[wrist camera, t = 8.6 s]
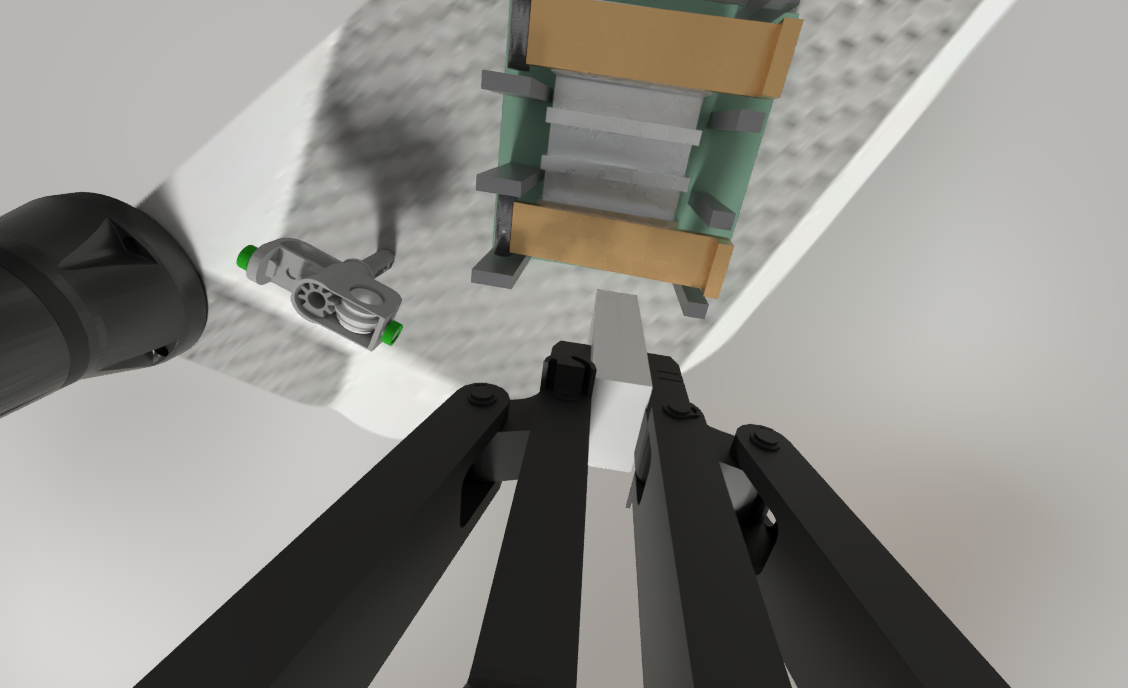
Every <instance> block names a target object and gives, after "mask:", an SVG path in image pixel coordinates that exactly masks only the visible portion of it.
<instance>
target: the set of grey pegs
mask: <svg viewBox="0 0 1128 688" xmlns="http://www.w3.org/2000/svg"><path fill="white" fill-rule="evenodd" d="M799 2H800V0H751V1H749V2H748V3H747V4H746V5H745V6H744V7H743V8H742V9H741V10H740V11H738V12H737V13H736V14H735V17H734V18H735V19H743V20H751V21H759V22H767V23H771V22H772V21H774V20H775V19H777V18H779V17H780V16H782V15H783V14H785V13H786V12H788V11H789V10H791V9H792V8H794V7H796V6H797V5H799ZM481 89H485V90H489V91H493V92H497V93H501V94H504V95H508V96H512V97H516V98H523V99H529V100H536V101H542V102H549V103H551V102H552V93H553V89H552V88H550V87H548V86H546V85H545V84H543V83H541V82H539V81H537V80H536V79H534V78H532V77H527V76H520V75H514V74H507V73H501V72H494V71H488V70H482V84H481ZM765 116H766V113H764V112H758V111H751V110H745V109H737V110H728V111H719V112H711V113H710V117H709V121H708V125H707V128H710V129H717V130H723V131H736V132H750V133H760V132H761V129H762V126H763V122H764V119H765ZM540 168H541V167H537V166H530V165H524V164H518V163H512V162H509V163H507V164H504V165H501V166H498V167H496V168H493V169H490V170H488V171H485V172H482V173H480V174H477V180H476V190H477V191H484V192H490V193H496V194H502V195H508V196H515V197H521V196H523V195H524V194H525V193H526V192H528V191H529V190H530V189H532V188H533V187H534V186H535V185H537V184H538V183H539V182H541V181H542V180H543V173H544V169H540ZM688 205H689V206H690V207H691V208H692V209H693V210H694V211H695V213H696V214H697V215H698V216H699V217H700V218H701V219H702V220H703V221H704V223H705V224H706V225H707V226H708V227H710V228H717V229H723V230H729V231H731V229H732V226H733V222H734V219H735V216H736V213H734V212H733V211H732V210H730V209H729V208H728V207H726V206H725V205H724V204H722V203H721V202H720V201H718V200H717V199H716V198H714V197H713V196H712V195H710V194H709V193H705V192H698V191H692V190H691V192H690V196H689V200H688ZM493 252H494V247H493V248H492V249H491V250H490V251H489V252H488V253H487V254H486V255H485V256H484V257H483V258H482V259H481V260H480V261H479V262H478V263H477V265H476V266H475V267H474V268H473V269H472V276H471V282H472V283H478V284H484V285H490V286H496V287H502V288H508V289H512V288H513V286H514V284H515V283H516V281H517V280H518V278H519V276H520V275H521V273H522V272H523V270H524V268H525V267H526V265H527V264H528V262H529V260H530V259H531V257H532V256H527V255H521V254H516V253H513V256H510V257H502V256H497V255H495V254H494V253H493ZM673 286H674V289H675V292H676V295H677V297H678V300H679V303H680V306H681V309H682V311H683V314H684V316H688V317H694V318H700V319H705V316H706V312H707V309H708V306H709V305H708V303H707V301H706V299H705V297H704V296H703V293H702V291H701V289H700V288H695V287H690V286H685V285H680V284H674V283H673Z"/></svg>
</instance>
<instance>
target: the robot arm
mask: <svg viewBox="0 0 1128 688" xmlns="http://www.w3.org/2000/svg"><path fill="white" fill-rule="evenodd" d="M206 314H207V311H206V300H205V295H204V291H203V288H202V285H201V282H200V279H199V277H198V275H197V273H196V271H195V269H194V267H193V265H192V263H191V262H190V260H189V258H188V257H187V256H186V254H185V253H184V251H183V250H182V249H181V247H180V246H179V245H178V244H177V243H176V241H175V240H174V239H173V238H172V237H171V236H170V235H169V234H168V233H167V232H166V231H165V230H164V229H163V228H162V227H161V226H160V225H158V224H157V223H156V222H155V221H154V220H152V219H151V218H150V217H148V216H147V215H145V214H144V213H142V212H141V211H139V210H138V209H136V208H134V207H132V206H131V205H129V204H127V203H124V202H122V201H120V200H118V199H115V198H112V197H109V196H106V195H102V194H97V193H90V192H76V193H68V194H61V195H53V196H46V197H42V198H39V199H35V200H32V201H30V202H28V203H26V204H24V205H22V206H20V207H18V208H16V209H14V210H12V211H10V212H8V213H6V214H4V215H3V216H1V217H0V418H2V417H4V416H6V415H8V414H10V413H12V412H14V411H16V410H19V409H20V408H23V407H25V406H27V405H29V404H31V403H33V402H35V401H37V400H39V399H41V398H43V397H45V396H47V395H49V394H52V393H53V392H55V391H57V390H59V389H61V388H63V387H66V386H68V385H70V384H72V383H74V382H76V381H78V380H81V379H86V378H91V377H96V376H102V375H107V374H113V373H119V372H124V371H129V370H134V369H140V368H145V367H151V366H155V365H158V364H161V363H164V362H166V361H168V360H170V359H172V358H173V357H176V356H177V355H179V354H181V353H183V352H185V351H187V350H188V349H190V348H191V347H192V346H193V345H194V344H195V343H196V342H197V341H198V339H199V338H200V336H201V334H202V332H203V330H204V327H205V323H206ZM634 458H635V473H634V477H633V481H632V485H631V488H630V492H629V497H628V500H627V504H626V508H630V506H631V503H632V504H633V520H634V535H635V536H634V537H635V552H636V567H637V586H638V601H639V618H640V634H641V650H642V667H643V684H644V688H792V687H791V684H790V681H789V677H788V674H787V671H786V668H785V665H786V667H787V669H788V671H789V672H790V674H791V676H792V678H793V680H794V681H795V684H796V686H797V687H798V688H1011V687H1010V686H1009V685H1008V684H1007V683H1006V682H1005V680H1004V679H1003V678H1002V677H1001V676H1000V675H999V674H998V673H997V672H996V670H995V669H994V668H993V667H992V666H991V665H990V664H989V663H988V662H987V661H986V659H985V658H984V657H983V656H982V655H981V654H980V653H979V652H978V650H976V648H975V647H974V646H973V645H972V644H971V643H970V642H969V640H968V639H967V638H966V637H965V636H964V635H963V634H962V633H961V632H960V630H959V629H958V628H957V627H956V626H955V625H954V624H953V623H952V621H951V620H950V619H949V618H948V617H947V616H946V615H945V614H944V613H943V612H942V610H941V609H940V608H939V607H938V606H937V605H936V604H935V603H934V602H933V600H932V599H931V598H930V597H929V596H928V595H927V594H926V593H925V592H924V590H923V589H922V588H921V587H920V586H919V585H918V584H917V583H916V582H915V580H914V579H913V578H912V577H911V576H910V575H909V574H908V573H907V572H906V570H905V569H904V568H903V567H902V566H901V565H900V564H899V563H898V561H896V559H895V558H894V557H893V556H892V555H891V554H890V553H889V551H888V550H887V549H886V548H885V547H884V546H883V545H882V544H881V543H880V542H879V540H878V539H877V538H876V537H875V536H874V535H873V534H872V533H871V531H870V530H869V529H868V528H867V527H866V526H865V525H864V524H863V523H862V521H861V520H860V519H859V518H858V517H857V516H856V515H855V514H854V513H853V511H852V510H851V509H850V508H849V507H848V506H847V505H846V504H845V503H844V501H843V500H842V499H841V498H840V497H839V496H838V495H837V494H836V493H835V492H834V490H833V489H832V488H831V487H830V486H829V485H828V484H827V483H826V482H825V480H824V479H823V478H822V477H821V476H820V475H819V474H818V473H817V471H816V470H815V469H814V468H813V467H812V466H811V465H810V464H809V463H808V461H807V460H806V459H805V458H804V457H803V456H802V455H801V454H800V453H799V451H798V450H797V449H796V448H795V447H794V446H793V445H792V444H791V442H790V441H788V440H787V439H786V438H785V437H784V436H783V435H781V434H779V433H778V432H776V431H774V430H773V429H771V428H768V427H765V426H762V425H754V424H747V425H742V426H740V427H739V428H738V429H737V431H736V434H735V436H734V435H731V434H728V433H725V432H722V431H719V430H717V429H715V428H712V427H710V426H708V425H707V423H706V420H705V417H704V415H703V413H702V412H701V410H700V409H699V408H697V407H696V406H695V405H694V404H692V403H690V402H689V399H688V395H687V392H686V388H685V385H684V383H683V378H682V376H681V371H680V368H679V365H678V364H677V363H676V362H675V361H674V360H673V359H672V358H671V357H670V356H663V355H657V354H651V353H647V351H646V345H645V339H644V333H643V327H642V322H641V316H640V310H639V304H638V298H637V295H631V294H625V293H618V292H612V291H605V290H599V289H597V293H596V299H595V305H594V311H593V316H592V322H591V328H590V334H589V339H588V345H586V344H579V343H573V342H567V341H560V342H558V343H557V344H556V345H554V346H553V348H552V352H551V355H550V356H548V357H547V358H546V359H545V360H544V363H543V371H542V378H541V386H540V392H539V393H538V394H536V395H534V396H532V397H529V398H525V399H517V400H510V398H509V395H508V393H507V392H506V391H505V390H504V389H503V388H501V387H498V386H496V385H493V384H488V383H473V384H469V385H465V386H463V387H462V388H460V389H458V390H457V391H456V392H455V393H454V394H453V395H452V396H451V397H449V398H448V399H447V400H446V401H445V402H444V403H443V404H442V405H441V406H440V407H439V408H437V409H436V410H435V411H434V412H433V413H432V414H431V415H430V416H429V417H428V418H427V419H425V420H424V421H423V422H422V423H421V424H420V425H419V426H418V427H417V428H416V429H415V430H413V431H412V432H411V433H410V434H409V435H408V436H407V437H406V438H405V439H404V440H402V441H401V442H400V443H399V444H398V445H397V446H396V447H395V448H394V449H393V450H392V451H390V452H389V453H388V454H387V455H386V456H385V457H384V458H383V459H382V460H381V461H380V462H379V463H377V464H376V465H375V466H374V467H373V468H372V469H371V470H370V471H369V472H368V473H367V474H365V475H364V476H363V477H362V478H361V479H360V480H359V481H358V482H357V483H356V484H354V485H353V486H352V487H351V488H350V489H349V490H348V491H347V492H346V493H345V494H344V495H342V496H341V497H340V498H339V499H338V500H337V501H336V502H335V503H334V504H333V505H332V506H330V507H329V508H328V509H327V510H326V511H325V512H324V513H323V514H322V515H321V516H320V517H318V518H317V519H316V520H315V521H314V522H313V523H312V524H311V525H310V526H309V527H308V528H306V529H305V530H304V531H303V532H302V533H301V534H300V535H299V536H298V537H297V538H296V539H294V541H292V542H291V543H290V544H289V545H288V546H287V547H286V548H285V549H283V550H282V551H281V552H280V553H279V554H278V555H277V556H276V557H275V558H274V559H273V560H272V561H270V562H269V563H268V564H267V565H266V566H265V567H264V568H263V569H262V570H261V571H259V572H258V574H256V575H255V576H254V577H253V578H252V579H251V580H250V581H249V582H247V583H246V584H245V585H244V586H243V587H242V588H241V589H240V590H239V591H238V592H237V593H235V594H234V595H233V596H232V597H231V598H230V599H229V600H228V601H227V602H226V603H225V604H224V605H222V606H221V607H220V608H219V609H218V610H217V611H216V612H215V613H214V614H213V615H212V616H210V617H209V618H208V619H207V620H206V621H205V622H204V623H203V624H202V625H200V626H199V627H198V628H197V629H196V630H195V631H194V632H193V633H192V634H191V635H190V636H189V637H187V638H186V639H185V640H184V641H183V642H182V643H181V644H180V645H179V646H178V647H176V648H175V649H174V650H173V651H172V652H171V653H170V654H169V655H168V656H167V657H166V658H164V659H163V660H162V661H161V662H160V663H159V664H158V665H157V666H156V667H155V668H154V669H153V670H151V671H150V672H149V673H148V674H147V675H146V676H145V677H144V678H143V679H142V680H140V681H139V682H138V683H137V684H136V685H135V686H134V687H133V688H368V686H369V685H370V683H371V682H372V680H373V679H374V677H375V676H376V674H377V673H378V671H379V670H380V668H381V667H382V665H383V664H384V662H385V661H386V659H387V658H388V656H389V655H390V653H391V652H392V650H393V649H394V647H395V646H396V644H397V643H398V641H399V639H400V638H401V637H402V635H403V634H404V632H405V631H406V629H407V628H408V626H409V624H410V623H411V621H412V620H413V618H414V617H415V615H416V614H417V612H418V611H419V609H420V608H421V606H422V605H423V603H424V602H425V600H426V599H427V597H428V596H429V594H430V593H431V591H432V590H433V588H434V587H435V585H436V583H437V582H438V581H439V579H440V578H441V576H442V575H443V573H444V572H445V570H446V569H447V567H448V565H449V564H450V563H451V561H452V560H453V558H454V557H455V555H456V554H457V552H458V551H459V549H460V547H461V546H462V545H463V543H464V541H465V540H466V538H467V537H468V536H469V534H470V532H471V531H472V529H473V528H474V526H475V525H476V523H477V522H478V520H479V519H480V517H481V516H482V514H483V513H484V511H485V510H486V508H487V507H488V505H489V504H490V502H491V501H492V499H493V498H494V496H495V495H496V493H497V492H498V490H499V489H500V486H501V483H502V481H507V480H518V481H517V485H516V489H515V493H514V498H513V502H512V506H511V510H510V514H509V518H508V522H507V526H506V530H505V534H504V539H503V542H502V546H501V551H500V554H499V559H498V563H497V566H496V571H495V575H494V579H493V583H492V587H491V591H490V595H489V599H488V603H487V607H486V611H485V615H484V619H483V623H482V628H481V631H480V635H479V640H478V644H477V648H476V652H475V656H474V660H473V664H472V668H471V671H470V675H469V678H468V681H467V683H466V685H465V686H464V687H463V688H576V683H577V664H578V644H579V626H580V608H581V589H582V588H581V587H582V570H583V569H582V568H583V551H584V531H585V512H586V493H587V475H588V466H593V467H599V468H605V469H612V470H618V471H624V472H631V469H632V465H633V461H634ZM769 509H770V511H771V512H772V513H773V515H774V517H775V519H776V522H775V524H773V523H772V522H771V521H770V520H769V518H768V517H767V512H768V510H769ZM783 661H784V662H783ZM784 663H785V665H784Z"/></svg>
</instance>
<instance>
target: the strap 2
mask: <svg viewBox="0 0 1128 688" xmlns="http://www.w3.org/2000/svg"><path fill="white" fill-rule="evenodd" d="M733 248H734V246H733V244H732V242H731V241H730V239H729V238H728V237H722V236H716V235H711V234H705V233H699V232H694V231H688V230H683V229H677V228H671V227H666V226H660V225H654V224H649V223H643V222H637V221H632V220H626V219H620V218H615V217H609V216H604V215H598V214H592V213H587V212H581V211H575V210H570V209H564V208H558V207H553V206H547V205H542V204H536V203H530V202H525V201H519V200H518V197H515V196H508V195H502V194H498V196H497V210H496V224H495V238H494V252H493V253H494V254H495V255H497V256H502V257H510V256H513V253H516V254H521V255H527V256H532V257H537V258H543V259H548V260H553V261H558V262H564V263H569V264H574V265H579V266H585V267H590V268H595V269H601V270H606V271H611V272H616V273H622V274H627V275H632V276H637V277H643V278H648V279H653V280H658V281H664V282H669V283H674V284H680V285H685V286H690V287H695V288H701V290H702V293H703V296H704V297H710V298H715V299H718V297H719V294H720V290H721V287H722V284H723V281H724V277H725V274H726V271H727V268H728V264H729V261H730V258H731V255H732V251H733Z"/></svg>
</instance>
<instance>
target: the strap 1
mask: <svg viewBox="0 0 1128 688" xmlns="http://www.w3.org/2000/svg"><path fill="white" fill-rule="evenodd" d="M802 24H803V19H795V18H787V17H785V18H783V19H782V20H781V21H780V22H779V23H778V24H774V23H767V22H759V21H751V20H743V19H735V18H728V17H720V16H712V15H704V14H697V13H689V12H681V11H673V10H665V9H658V8H650V7H642V6H634V5H626V4H619V3H611V2H603V1H595V0H512V3H511V17H510V31H509V45H508V58H507V68H508V69H513V70H518V71H525V72H530V66H537V67H544V68H551V69H558V70H565V71H571V72H578V73H585V74H592V75H599V76H606V77H613V78H620V79H626V80H633V81H640V82H647V83H654V84H661V85H668V86H675V87H681V88H688V89H695V90H702V91H709V92H716V93H723V94H730V95H736V96H743V97H750V98H757V99H764V100H772V99H776V98H780V95H781V92H782V89H783V85H784V82H785V79H786V76H787V72H788V69H789V66H790V63H791V59H792V56H793V53H794V50H795V46H796V43H797V40H798V37H799V33H800V30H801V27H802Z"/></svg>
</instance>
